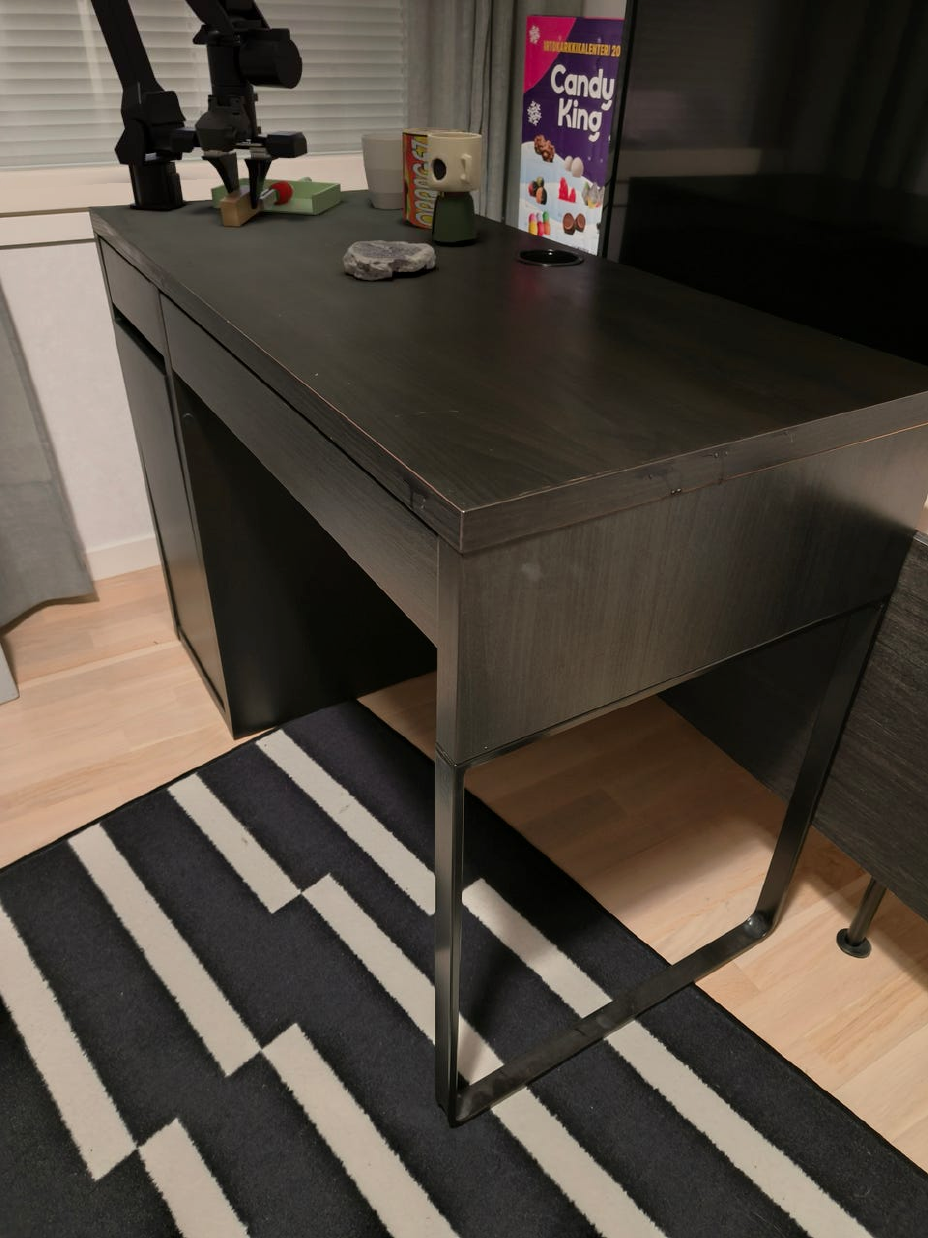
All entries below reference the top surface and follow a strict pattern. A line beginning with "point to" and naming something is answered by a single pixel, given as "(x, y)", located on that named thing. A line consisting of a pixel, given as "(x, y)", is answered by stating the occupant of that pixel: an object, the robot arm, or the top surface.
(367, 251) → the fossil
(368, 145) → the cup
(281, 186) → the strawberry
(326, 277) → the top surface
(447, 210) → the character mug
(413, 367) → the top surface
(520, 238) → the top surface
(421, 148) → the beverage can
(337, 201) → the tray
